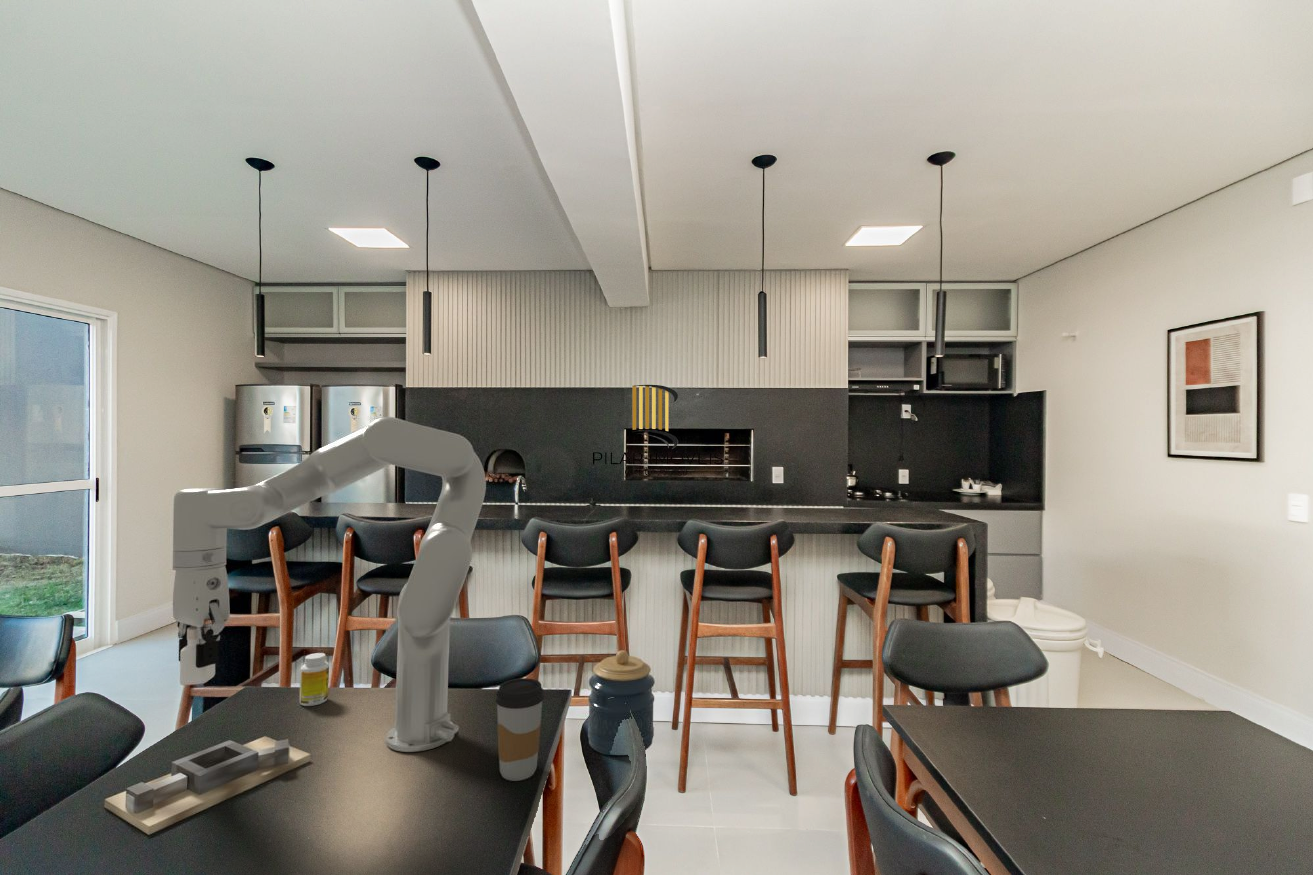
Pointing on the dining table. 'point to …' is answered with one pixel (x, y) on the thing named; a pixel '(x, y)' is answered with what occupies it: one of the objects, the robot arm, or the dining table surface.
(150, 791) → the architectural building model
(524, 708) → the coffee cup
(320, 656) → the supplement bottle
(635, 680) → the canister
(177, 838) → the dining table surface
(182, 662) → the pepper shaker
